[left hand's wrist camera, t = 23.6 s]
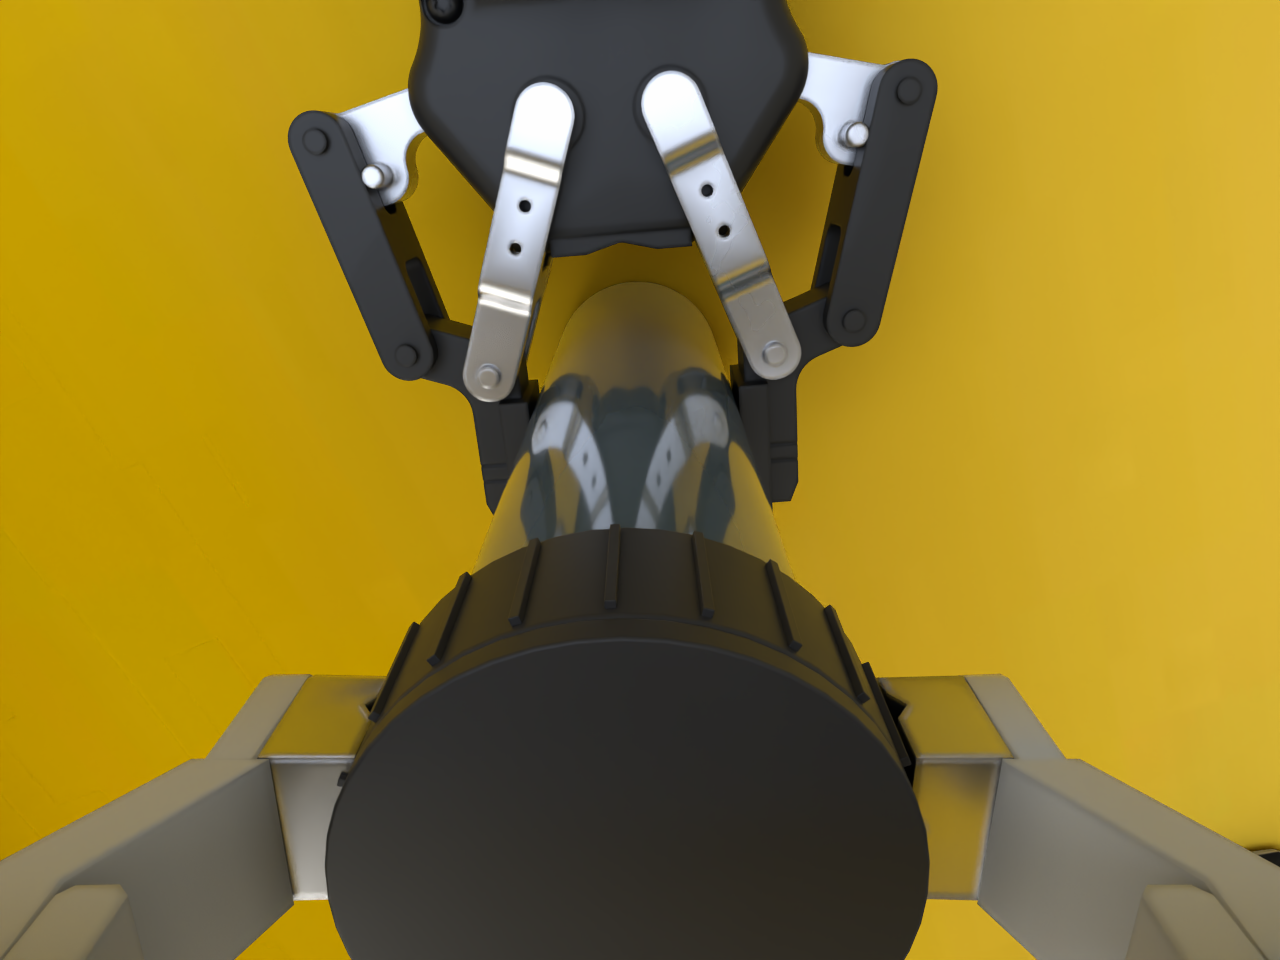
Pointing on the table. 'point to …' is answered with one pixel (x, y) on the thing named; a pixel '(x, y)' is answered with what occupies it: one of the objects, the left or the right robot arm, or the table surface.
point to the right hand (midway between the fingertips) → (646, 519)
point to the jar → (636, 434)
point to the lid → (628, 770)
